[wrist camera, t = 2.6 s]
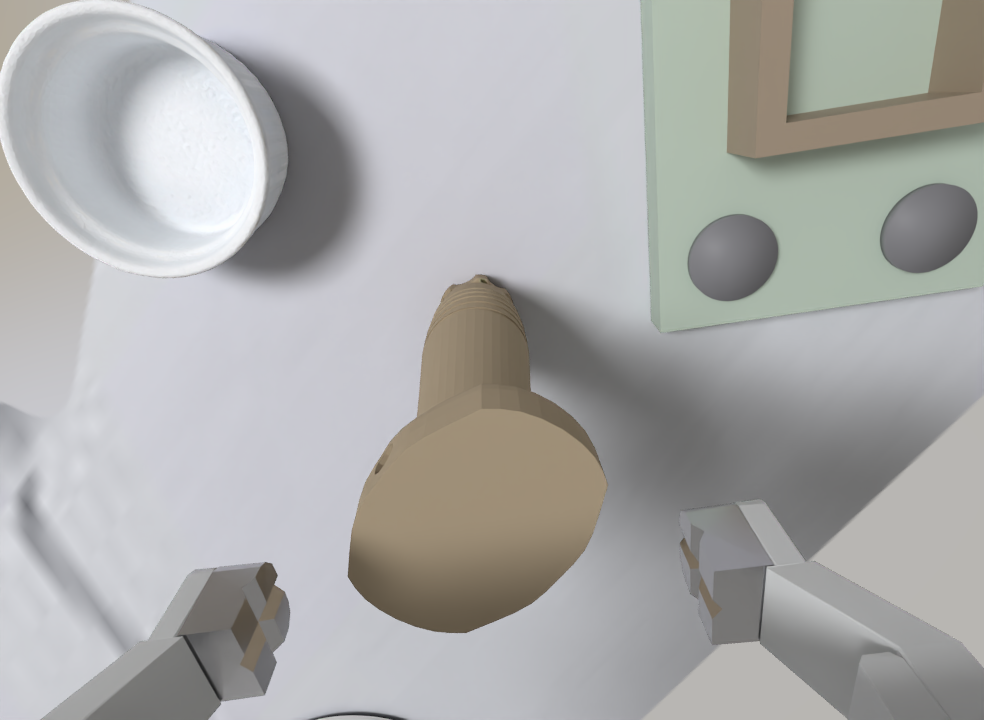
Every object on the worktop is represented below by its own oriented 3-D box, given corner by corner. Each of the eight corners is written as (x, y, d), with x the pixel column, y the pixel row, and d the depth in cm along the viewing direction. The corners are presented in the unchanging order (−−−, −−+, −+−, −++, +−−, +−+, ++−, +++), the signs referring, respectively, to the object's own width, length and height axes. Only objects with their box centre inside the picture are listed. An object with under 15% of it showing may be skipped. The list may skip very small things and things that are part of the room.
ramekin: (41, 158, 23) (-48, 169, 19) (138, -42, 20) (57, -76, 16) (235, 290, 26) (191, 324, 22) (345, 128, 23) (317, 133, 19)
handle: (560, 280, 26) (652, 484, 12) (479, 383, 28) (479, 658, 14) (472, 218, 24) (463, 367, 11) (395, 331, 26) (305, 576, 13)
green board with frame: (956, 276, 26) (1034, 305, 22) (651, 321, 26) (678, 356, 23) (1063, -253, 18) (1207, -340, 15) (634, -174, 19) (671, -238, 15)
